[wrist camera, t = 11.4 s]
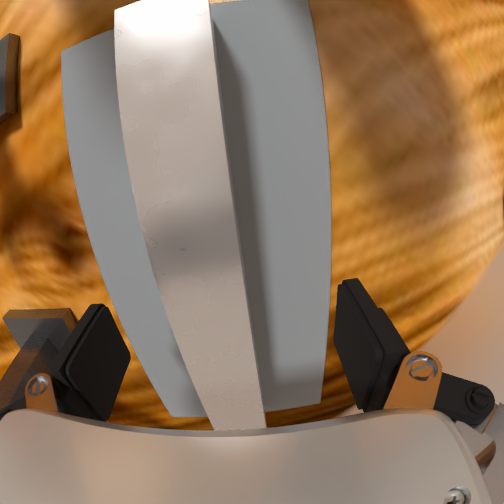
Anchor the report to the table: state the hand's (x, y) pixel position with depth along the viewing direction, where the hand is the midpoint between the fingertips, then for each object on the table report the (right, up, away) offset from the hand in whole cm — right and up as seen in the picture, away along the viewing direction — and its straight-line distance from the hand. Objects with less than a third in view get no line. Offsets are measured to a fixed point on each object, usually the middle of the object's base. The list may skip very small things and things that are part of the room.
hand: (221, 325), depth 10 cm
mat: (-1, +2, +5) cm, 5 cm away
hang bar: (-1, +2, +4) cm, 5 cm away
